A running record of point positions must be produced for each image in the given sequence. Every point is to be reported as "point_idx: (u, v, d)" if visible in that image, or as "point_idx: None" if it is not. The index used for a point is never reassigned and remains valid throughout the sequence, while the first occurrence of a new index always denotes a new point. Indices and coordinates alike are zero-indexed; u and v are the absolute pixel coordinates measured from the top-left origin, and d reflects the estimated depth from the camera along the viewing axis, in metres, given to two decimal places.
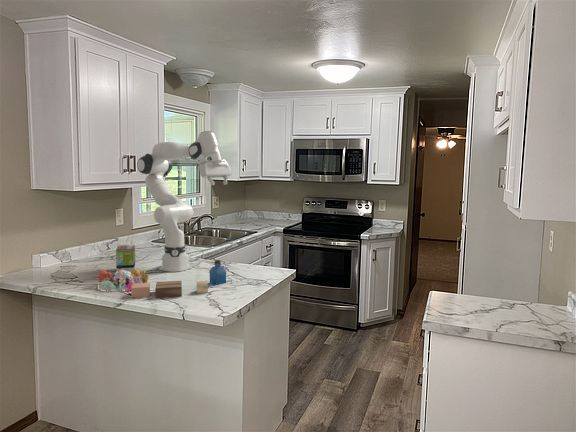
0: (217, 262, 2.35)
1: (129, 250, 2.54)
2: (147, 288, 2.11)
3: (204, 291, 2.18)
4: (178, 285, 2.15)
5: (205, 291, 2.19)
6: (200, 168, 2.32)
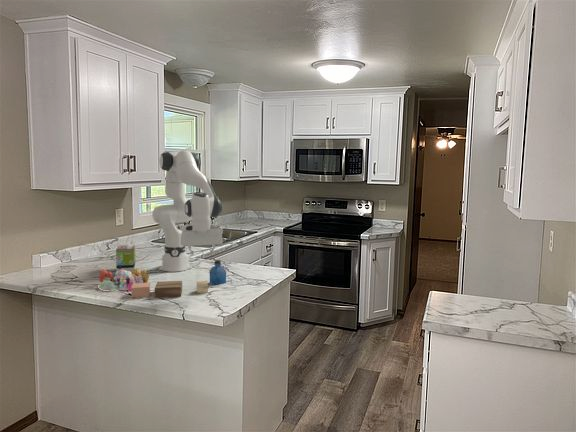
0: (217, 262, 2.35)
1: (129, 250, 2.54)
2: (147, 288, 2.11)
3: (204, 291, 2.18)
4: (178, 285, 2.14)
5: (205, 291, 2.19)
6: None
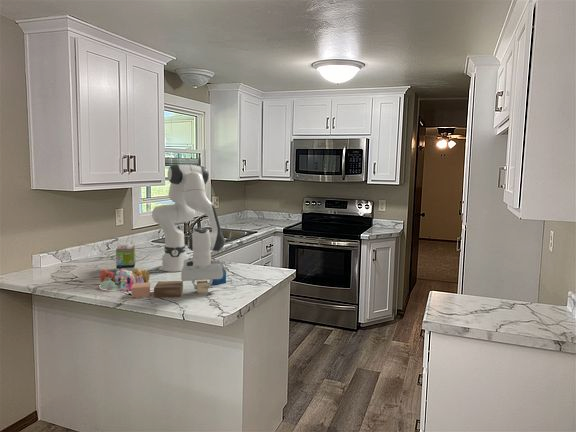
0: None
1: (129, 250, 2.54)
2: (147, 288, 2.11)
3: (204, 291, 2.18)
4: (177, 285, 2.14)
5: (205, 291, 2.19)
6: None
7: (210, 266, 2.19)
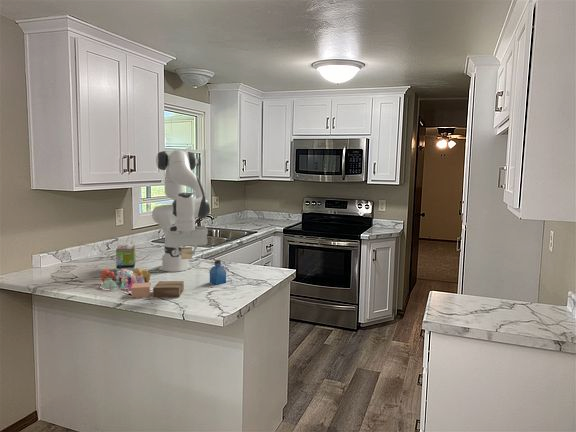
0: (217, 262, 2.35)
1: (129, 250, 2.54)
2: (147, 288, 2.11)
3: (188, 257, 2.15)
4: (177, 286, 2.14)
5: (189, 257, 2.15)
6: None
7: (194, 232, 2.15)
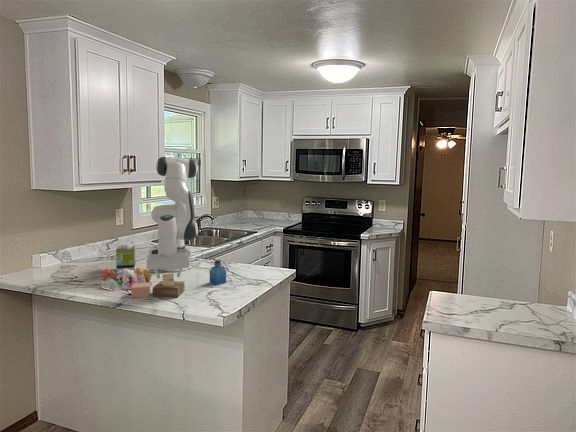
0: (217, 262, 2.35)
1: (129, 250, 2.54)
2: (147, 288, 2.11)
3: (169, 284, 2.14)
4: (176, 286, 2.13)
5: (171, 284, 2.14)
6: (147, 258, 2.14)
7: (176, 254, 2.14)
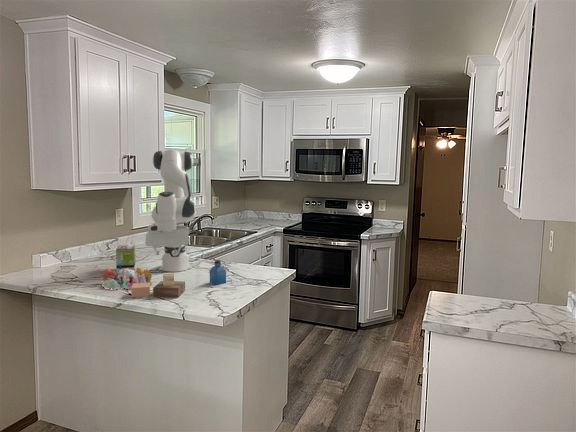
0: (217, 262, 2.35)
1: (129, 250, 2.54)
2: (147, 288, 2.11)
3: (170, 283, 2.14)
4: (177, 286, 2.13)
5: (171, 284, 2.14)
6: None
7: (175, 231, 2.13)
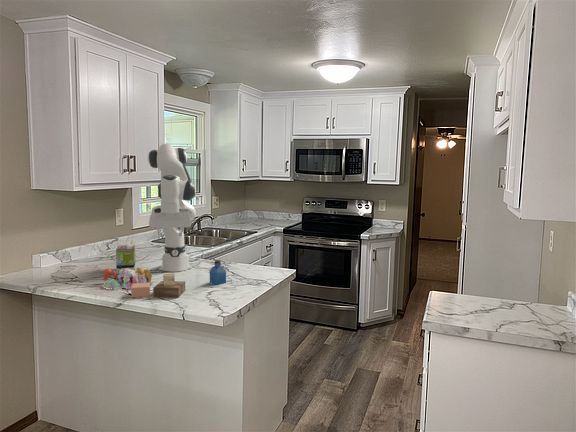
0: (217, 262, 2.35)
1: (129, 250, 2.54)
2: (147, 288, 2.11)
3: (170, 283, 2.14)
4: (177, 286, 2.13)
5: (172, 283, 2.14)
6: None
7: (178, 214, 2.19)
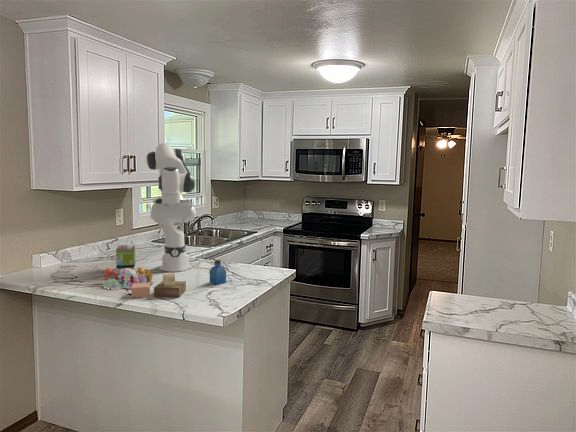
0: (217, 262, 2.35)
1: (129, 250, 2.54)
2: (147, 288, 2.11)
3: (171, 283, 2.14)
4: (177, 286, 2.13)
5: (172, 284, 2.14)
6: None
7: (179, 205, 2.22)
